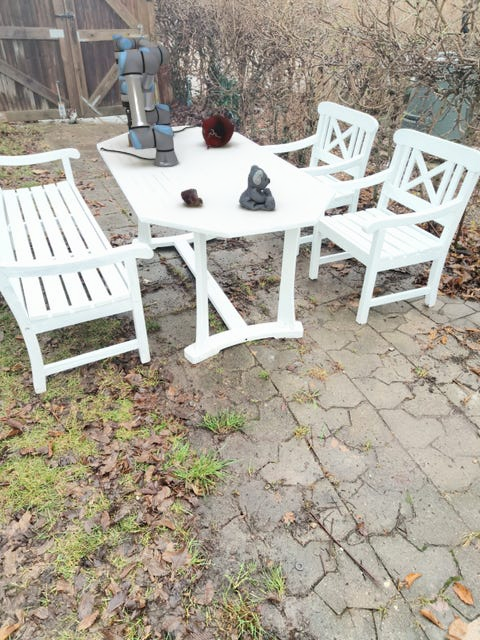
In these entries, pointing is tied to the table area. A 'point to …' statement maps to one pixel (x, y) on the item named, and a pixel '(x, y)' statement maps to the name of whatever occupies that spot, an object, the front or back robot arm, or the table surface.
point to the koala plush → (257, 191)
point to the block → (129, 141)
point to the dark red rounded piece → (217, 130)
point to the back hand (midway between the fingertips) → (124, 88)
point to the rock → (191, 197)
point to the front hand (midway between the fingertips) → (131, 132)
